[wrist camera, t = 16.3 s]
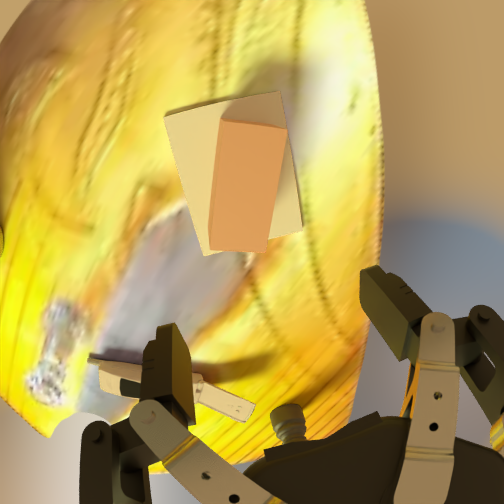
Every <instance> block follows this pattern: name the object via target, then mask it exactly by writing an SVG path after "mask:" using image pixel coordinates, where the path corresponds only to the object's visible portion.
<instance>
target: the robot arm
mask: <svg viewBox="0 0 504 504" xmlns="http://www.w3.org/2000/svg"><path fill="white" fill-rule="evenodd" d="M3 245H4V242H3V234H2V229H1V226H0V257H1V255H2V252H3ZM359 298H360V303H361V306H362V309H363V310H364V312H365V313H366V315H367V316H368V317H369V319H370V320H371V322H372V323H373V324H374V326H375V327H376V329H377V330H378V332H379V333H380V334H381V335H382V337H383V339H384V340H385V342H386V343H387V345H388V346H389V347H390V349H391V350H392V351H393V353H394V355H395V356H396V358H397V359H398V361H399V362H400V361H402V360H404V359H406V358H408V359H409V360H410V366H409V373H408V379H407V385H406V391H405V397H404V402H403V405H402V409H401V412H400V416H399V417H398V416H386V417H380V415H379V413H378V412H377V411H376V412H374V413H372V414H369V415H367V416H364V417H362V418H359V419H357V420H355V421H352V422H350V423H349V424H347V425H346V426H344V427H343V428H341V429H340V430H338V431H337V432H335V433H334V434H332V435H330V436H329V437H327V438H325V439H320V440H310V441H297V442H290V443H287V444H283V445H279V446H276V447H272V448H268V449H264V454H265V456H264V457H262V458H261V459H259V460H257V461H256V462H254V463H253V464H252V465H250V466H249V467H248V468H247V469H246V470H245V471H244V472H243V474H242V473H241V472H239V471H238V470H237V469H235V468H234V467H233V466H231V465H230V464H229V463H228V462H226V461H225V460H224V459H223V458H221V457H220V456H219V455H218V454H216V453H215V452H214V451H213V450H212V449H210V448H209V447H208V446H207V445H206V444H205V443H203V442H202V441H201V440H200V439H199V438H197V437H196V436H194V435H193V434H192V433H190V432H189V431H188V426H191V425H196V418H195V407H194V395H193V381H192V365H191V356H190V352H189V349H188V347H187V345H186V343H185V341H184V339H183V337H182V335H181V333H180V331H179V329H178V327H177V325H176V324H175V323H170V324H166V325H162V326H158V327H157V330H156V340H152V341H149V342H148V344H147V346H146V347H145V349H144V351H143V363H142V372H141V385H140V399H139V403H138V404H136V405H135V406H134V407H133V409H132V410H131V412H130V416H129V417H128V418H127V419H125V420H122V421H120V422H118V423H115V424H113V425H111V426H109V425H108V424H107V423H106V422H104V421H95V422H92V423H90V424H89V425H88V426H87V427H86V428H85V429H84V431H83V434H82V440H81V454H80V478H79V504H152V499H151V491H150V481H149V471H148V466H149V465H152V464H154V463H156V462H159V461H162V464H163V466H164V467H165V468H166V469H167V470H168V471H169V472H170V474H172V476H173V477H174V478H175V479H176V480H177V481H178V482H179V483H180V484H182V486H184V487H185V489H187V490H188V491H189V492H190V493H191V494H192V495H193V496H194V497H195V498H196V499H197V500H198V501H199V502H201V503H202V504H504V321H503V320H502V319H501V318H500V316H499V315H498V314H497V313H496V312H495V311H494V310H493V309H492V308H490V307H488V306H485V305H477V306H474V307H473V308H472V309H471V311H470V313H469V316H468V317H463V318H457V319H451V318H450V317H449V316H448V315H446V314H444V313H440V312H432V311H431V309H429V307H428V306H427V305H426V304H425V303H424V302H423V301H422V300H421V299H420V298H419V297H418V295H417V294H416V293H415V292H413V290H412V289H411V288H410V287H409V286H407V284H406V283H405V282H404V281H403V280H402V279H401V278H400V277H398V276H397V275H395V274H392V273H387V274H386V273H385V272H384V271H383V270H382V269H381V268H380V267H379V266H378V265H374V266H371V267H368V268H365V269H362V270H361V271H360V295H359ZM484 352H485V353H486V354H487V355H488V357H489V358H490V360H491V361H492V362H493V364H494V365H495V368H494V367H493V365H492V364H491V362H490V361H489V360H488V358H487V357H486V356H485V354H484ZM460 374H461V376H462V378H463V379H464V381H465V382H466V384H467V385H468V387H469V389H470V390H471V392H472V393H473V395H474V396H475V398H476V400H477V401H478V403H479V405H480V406H481V408H482V410H483V411H484V413H485V415H486V416H487V418H488V420H489V422H490V423H491V425H492V427H491V430H490V437H491V439H490V444H491V446H493V449H491V448H488V447H484V446H482V445H479V444H475V443H472V442H470V441H466V440H464V439H461V438H457V437H455V432H456V423H457V412H458V399H459V377H460Z"/></svg>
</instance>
